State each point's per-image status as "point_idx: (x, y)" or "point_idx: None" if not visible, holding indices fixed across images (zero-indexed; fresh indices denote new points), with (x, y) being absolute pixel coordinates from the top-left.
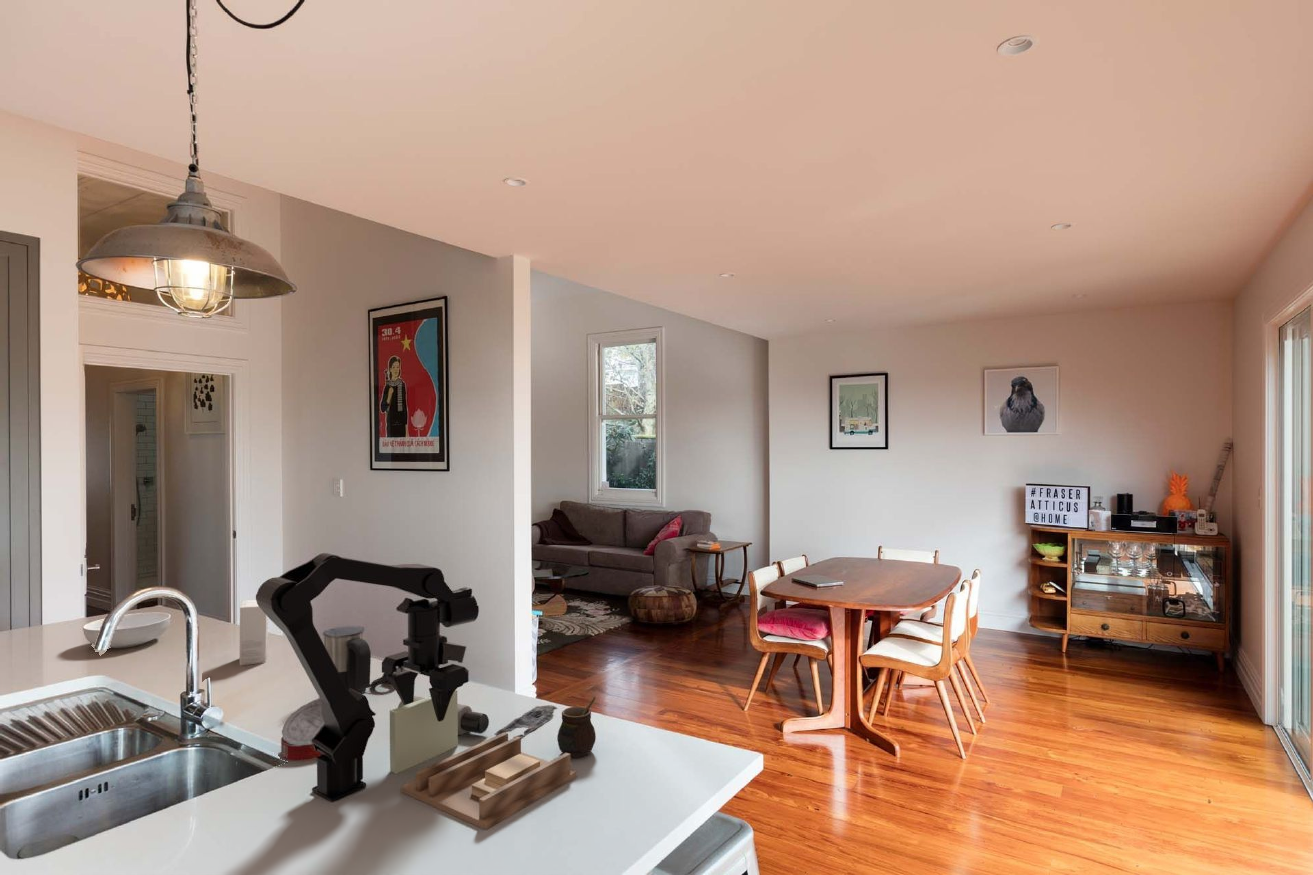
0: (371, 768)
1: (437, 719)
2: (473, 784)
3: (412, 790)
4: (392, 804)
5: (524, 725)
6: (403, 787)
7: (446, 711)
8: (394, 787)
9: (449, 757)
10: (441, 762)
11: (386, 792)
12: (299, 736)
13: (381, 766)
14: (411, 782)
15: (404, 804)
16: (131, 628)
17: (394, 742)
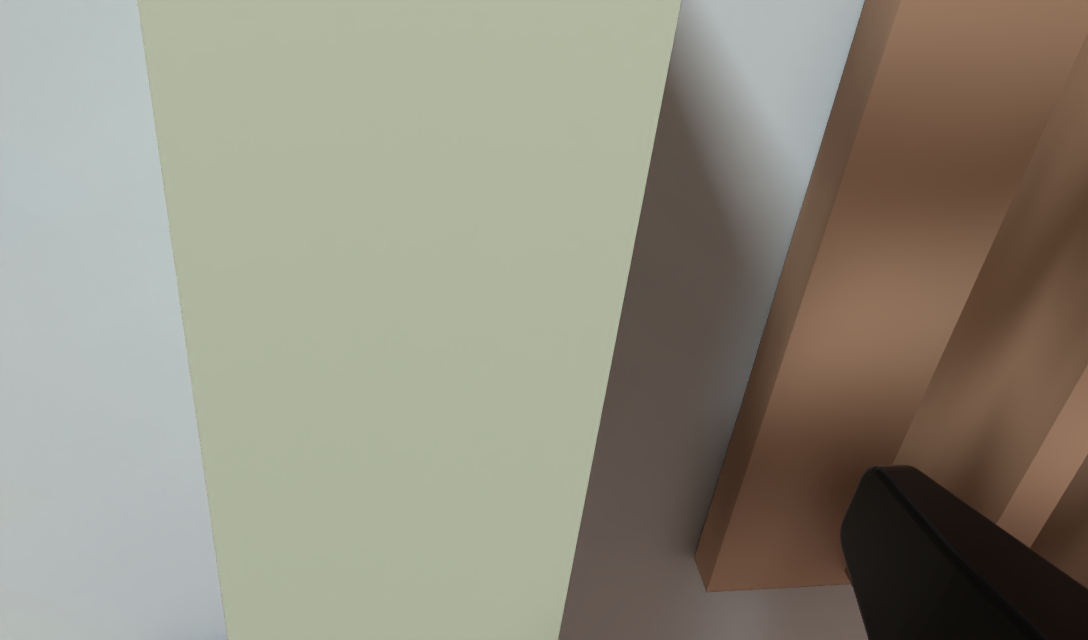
0: (147, 506)
1: (856, 574)
2: None
3: (824, 581)
4: (753, 637)
5: None
6: (732, 588)
7: (1062, 573)
8: (601, 551)
9: (1049, 437)
10: (1020, 521)
11: (605, 601)
12: None
13: (180, 450)
14: (737, 536)
15: (822, 606)
16: None
17: None
